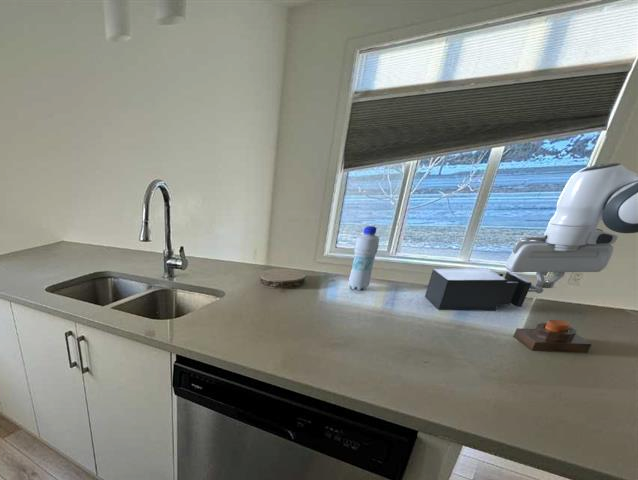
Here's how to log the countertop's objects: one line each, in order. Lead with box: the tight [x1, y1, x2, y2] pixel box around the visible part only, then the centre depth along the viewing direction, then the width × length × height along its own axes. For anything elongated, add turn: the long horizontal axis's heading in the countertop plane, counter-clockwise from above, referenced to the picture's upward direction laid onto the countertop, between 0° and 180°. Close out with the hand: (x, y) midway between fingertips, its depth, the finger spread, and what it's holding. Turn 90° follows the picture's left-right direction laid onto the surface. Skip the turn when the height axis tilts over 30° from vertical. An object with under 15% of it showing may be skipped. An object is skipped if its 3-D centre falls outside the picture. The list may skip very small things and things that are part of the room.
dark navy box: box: [424, 268, 507, 311], centre depth 116 cm, size 14×12×9 cm
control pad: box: [513, 322, 592, 354], centre depth 92 cm, size 10×8×4 cm
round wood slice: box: [258, 268, 307, 290], centre depth 148 cm, size 16×16×3 cm
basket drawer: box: [495, 271, 544, 308], centre depth 114 cm, size 17×10×7 cm, turn 74°
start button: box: [545, 319, 571, 332], centre depth 91 cm, size 4×4×2 cm
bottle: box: [347, 225, 380, 291], centre depth 131 cm, size 7×7×20 cm
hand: (543, 287), depth 111 cm, fingers closed
